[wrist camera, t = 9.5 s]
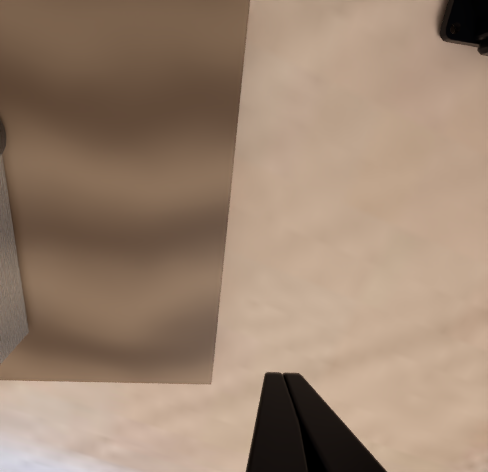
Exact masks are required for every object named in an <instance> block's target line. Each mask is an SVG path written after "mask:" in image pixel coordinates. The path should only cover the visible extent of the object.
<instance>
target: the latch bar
mask: <svg viewBox="0 0 488 472" xmlns="http://www.w3.org/2000/svg"><path fill="white" fill-rule="evenodd" d="M5 147H6V132H5V128H4V126H3V123H2V121H1V120H0V364H1V363H2V362H3V361H4V360H5V359H6V358H7V357H8V355H9V354H10V353H11V352H12V351H13V350H14V349H15V347H16V346H17V345H18V344H19V343H20V342H21V341H22V339H23V338H24V337H25V336H26V335H27V334H28V333H29V330H28V323H27V316H26V310H25V303H24V297H23V290H22V283H21V277H20V270H19V263H18V257H17V250H16V244H15V237H14V230H13V224H12V217H11V210H10V204H9V197H8V190H7V184H6V177H5V171H4V164H3V157H2V153H3V152H4V150H5Z"/></svg>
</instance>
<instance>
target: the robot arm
mask: <svg viewBox="0 0 488 472" xmlns="http://www.w3.org/2000/svg"><path fill="white" fill-rule="evenodd" d="M452 25H453V26H454V28H455V30H454V33H453V34H452V33H451V31H450V29H451V26H452ZM440 35H441V38H442V40H443V41H446V42H450V43H456V44H462V45H468V46H474V47H478V52H479V53H480V54H481V55H485V56H488V0H449V2H448V5H447V9H446V12H445V15H444V19H443V22H442V26H441V30H440ZM246 472H387V471H386V470H385V469H384V468H383V467H382V465H381V464H380V463H379V462H378V461H377V460H376V459H375V458H374V456H373V455H372V454H371V453H370V452H369V451H368V450H367V449H366V447H365V446H364V445H363V444H362V443H361V442H360V441H359V439H358V438H357V437H356V436H355V435H354V434H353V433H352V432H351V430H350V429H349V428H348V427H347V426H346V425H345V424H344V423H343V421H342V420H341V419H340V418H339V417H338V416H337V415H336V414H335V412H334V411H333V410H332V409H331V408H330V407H329V406H328V405H327V403H326V402H325V401H324V400H323V399H322V398H321V397H320V396H319V394H318V393H317V392H316V391H315V390H314V389H313V388H312V386H311V385H310V384H309V383H308V382H307V381H306V380H305V379H304V377H303V376H302V375H300V374H299V373H283V374H281V373H279V372H267V373H265V376H264V382H263V387H262V392H261V397H260V402H259V407H258V412H257V417H256V422H255V427H254V433H253V438H252V443H251V448H250V453H249V458H248V463H247V468H246Z"/></svg>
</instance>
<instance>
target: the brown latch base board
mask: <svg viewBox="0 0 488 472" xmlns="http://www.w3.org/2000/svg"><path fill="white" fill-rule="evenodd" d="M249 4H250V0H0V120H1V121H2V123H3V126H4V128H5V132H6V147H5V150H4V152H3V153H2V157H3V164H4V171H5V177H6V184H7V190H8V197H9V204H10V210H11V217H12V224H13V230H14V237H15V244H16V250H17V257H18V263H19V270H20V277H21V283H22V290H23V297H24V303H25V310H26V316H27V323H28V330H29V333H28V334H27V335H26V336H25V337H24V338H23V339H22V341H21V342H20V343H19V344H18V345H17V346H16V347H15V349H14V350H13V351H12V352H11V353H10V354H9V355H8V357H7V358H6V359H5V360H4V361H3V362H2V363H1V364H0V380H22V381H71V382H120V383H169V384H211V382H212V372H213V362H214V352H215V342H216V332H217V322H218V312H219V302H220V292H221V282H222V272H223V262H224V252H225V242H226V232H227V222H228V212H229V203H230V193H231V183H232V173H233V163H234V153H235V143H236V133H237V123H238V113H239V103H240V93H241V83H242V73H243V63H244V53H245V43H246V33H247V23H248V14H249Z"/></svg>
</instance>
